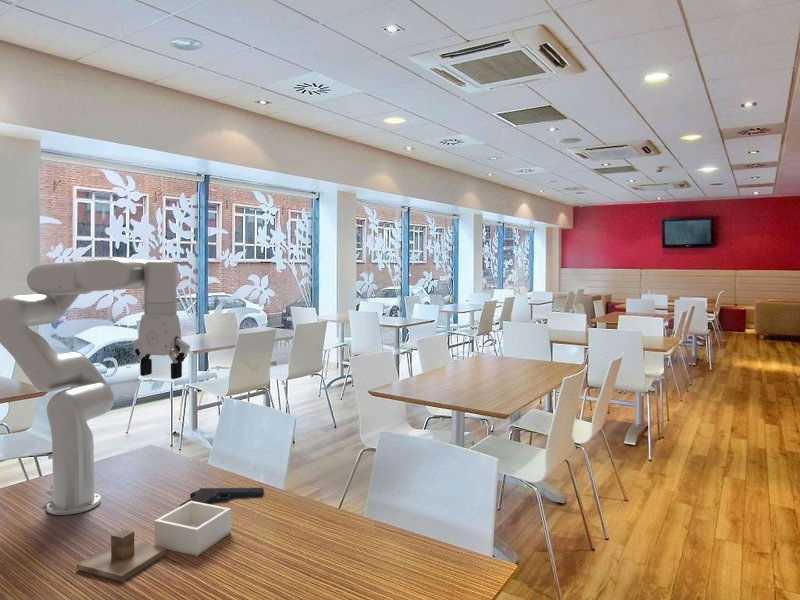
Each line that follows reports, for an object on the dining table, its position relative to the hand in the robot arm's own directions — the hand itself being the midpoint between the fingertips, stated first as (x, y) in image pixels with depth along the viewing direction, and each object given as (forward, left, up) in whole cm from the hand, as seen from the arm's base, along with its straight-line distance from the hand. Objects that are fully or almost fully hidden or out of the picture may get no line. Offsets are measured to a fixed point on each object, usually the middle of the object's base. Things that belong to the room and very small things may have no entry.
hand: (161, 376), depth 143 cm
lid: (+9, -21, -36) cm, 43 cm away
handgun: (+9, +13, -37) cm, 40 cm away
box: (+16, -7, -36) cm, 40 cm away
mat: (+9, -21, -36) cm, 43 cm away
